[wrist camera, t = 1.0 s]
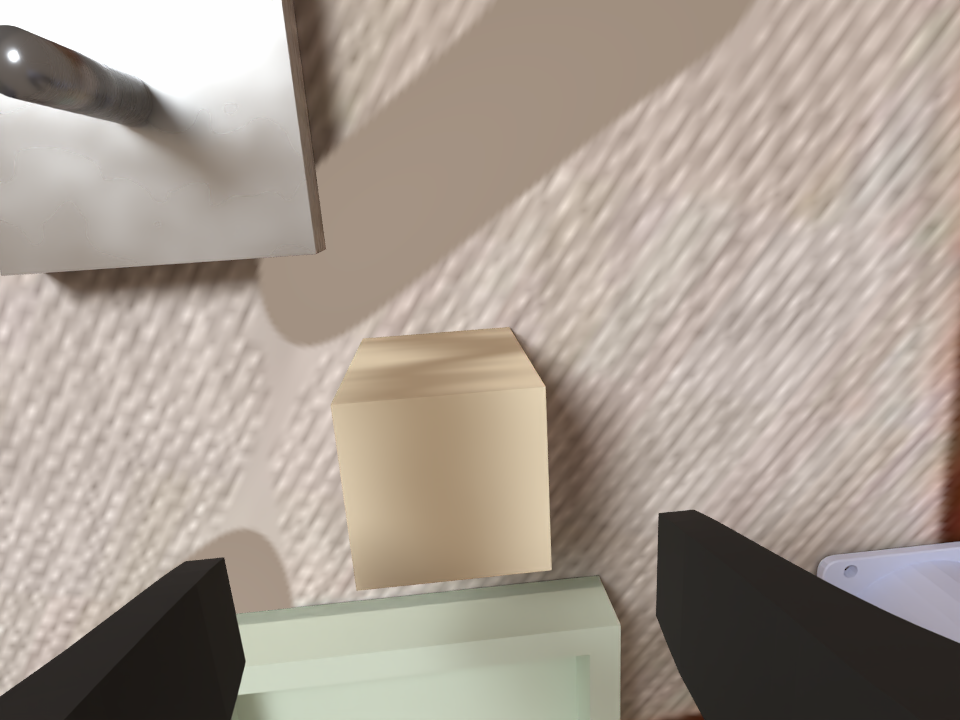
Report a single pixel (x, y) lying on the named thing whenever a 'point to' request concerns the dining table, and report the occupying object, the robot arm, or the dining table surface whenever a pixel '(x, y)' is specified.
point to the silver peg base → (152, 134)
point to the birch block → (443, 459)
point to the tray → (438, 656)
